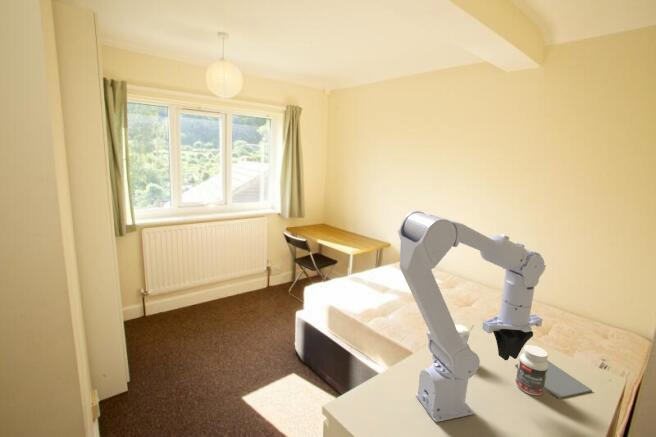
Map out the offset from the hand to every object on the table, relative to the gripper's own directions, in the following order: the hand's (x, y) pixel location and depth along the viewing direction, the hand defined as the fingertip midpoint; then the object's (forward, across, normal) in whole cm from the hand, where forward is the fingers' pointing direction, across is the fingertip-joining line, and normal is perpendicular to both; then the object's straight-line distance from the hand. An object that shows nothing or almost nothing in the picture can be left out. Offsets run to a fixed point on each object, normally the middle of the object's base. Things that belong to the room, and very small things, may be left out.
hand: (507, 356), depth 72 cm
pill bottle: (+10, +8, 0) cm, 12 cm away
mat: (+9, +17, +2) cm, 19 cm away
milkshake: (+10, -1, +14) cm, 17 cm away
